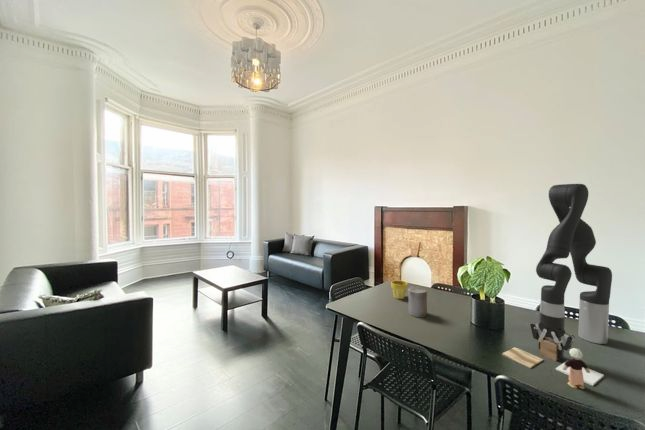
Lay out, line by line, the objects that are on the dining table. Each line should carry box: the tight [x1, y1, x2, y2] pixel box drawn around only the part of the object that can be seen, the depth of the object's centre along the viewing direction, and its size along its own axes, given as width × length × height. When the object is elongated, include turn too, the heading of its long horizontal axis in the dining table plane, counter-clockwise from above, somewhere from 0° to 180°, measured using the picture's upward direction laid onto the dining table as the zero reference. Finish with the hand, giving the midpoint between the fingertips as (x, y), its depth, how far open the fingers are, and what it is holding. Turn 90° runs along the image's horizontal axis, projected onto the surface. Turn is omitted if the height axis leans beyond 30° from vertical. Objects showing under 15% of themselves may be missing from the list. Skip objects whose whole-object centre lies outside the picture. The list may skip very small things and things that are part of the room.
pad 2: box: [555, 359, 605, 387], centre depth 97 cm, size 10×10×1 cm
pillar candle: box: [407, 286, 428, 318], centre depth 149 cm, size 10×10×15 cm
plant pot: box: [390, 279, 409, 300], centre depth 175 cm, size 10×10×10 cm
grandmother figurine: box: [563, 347, 590, 390], centre depth 90 cm, size 8×4×13 cm, turn 92°
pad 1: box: [501, 346, 544, 369], centre depth 107 cm, size 10×10×1 cm
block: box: [539, 337, 560, 362], centre depth 107 cm, size 5×5×6 cm
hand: (550, 354), depth 108 cm, fingers closed on block, 5 cm apart
